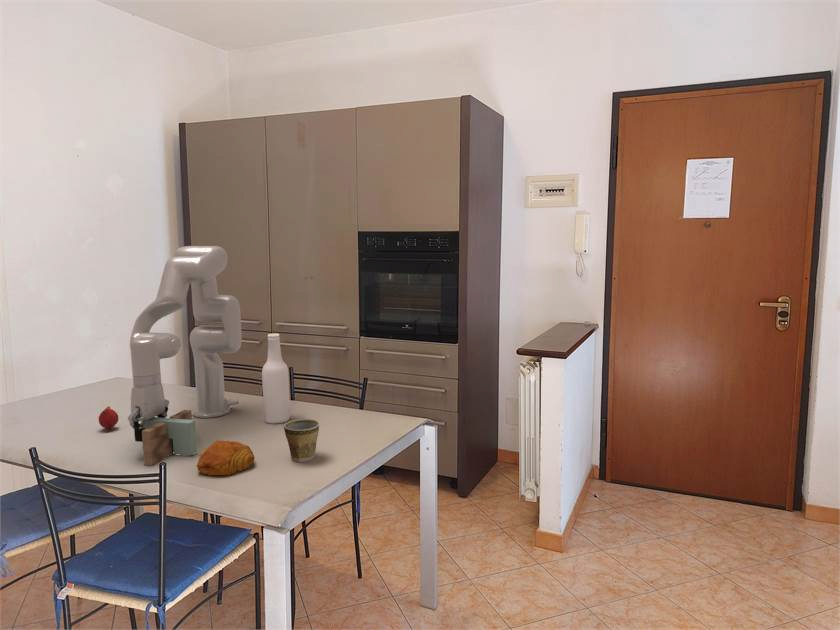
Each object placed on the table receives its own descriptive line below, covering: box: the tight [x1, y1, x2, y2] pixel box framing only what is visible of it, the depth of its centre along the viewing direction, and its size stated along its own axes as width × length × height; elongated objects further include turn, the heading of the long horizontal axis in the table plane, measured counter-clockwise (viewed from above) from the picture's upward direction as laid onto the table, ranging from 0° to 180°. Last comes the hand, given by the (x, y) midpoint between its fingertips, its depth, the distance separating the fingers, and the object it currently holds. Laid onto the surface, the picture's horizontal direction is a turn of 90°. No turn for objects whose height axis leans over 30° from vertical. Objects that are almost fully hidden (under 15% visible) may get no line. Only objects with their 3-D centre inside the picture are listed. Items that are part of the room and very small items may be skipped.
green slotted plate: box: [143, 416, 198, 456], centre depth 182 cm, size 16×3×10 cm, turn 77°
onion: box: [98, 405, 119, 431], centre depth 203 cm, size 6×6×8 cm
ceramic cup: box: [283, 418, 320, 463], centre depth 179 cm, size 13×10×10 cm
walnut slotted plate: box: [142, 409, 193, 467], centre depth 182 cm, size 20×2×10 cm, turn 167°
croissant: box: [196, 440, 255, 476], centre depth 172 cm, size 14×16×8 cm
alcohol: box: [261, 333, 291, 425], centre depth 210 cm, size 9×9×30 cm
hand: (151, 435), depth 184 cm, fingers open, 9 cm apart
